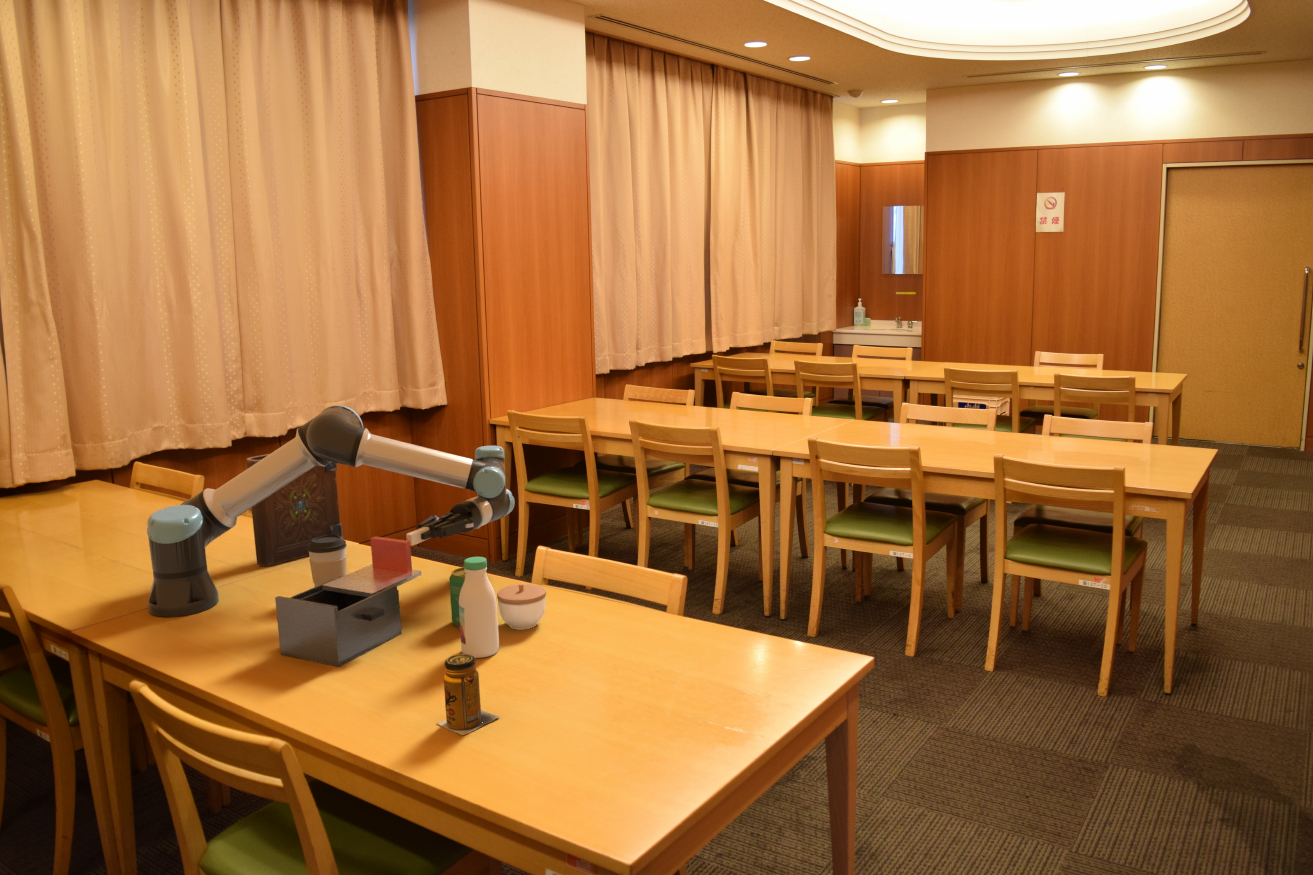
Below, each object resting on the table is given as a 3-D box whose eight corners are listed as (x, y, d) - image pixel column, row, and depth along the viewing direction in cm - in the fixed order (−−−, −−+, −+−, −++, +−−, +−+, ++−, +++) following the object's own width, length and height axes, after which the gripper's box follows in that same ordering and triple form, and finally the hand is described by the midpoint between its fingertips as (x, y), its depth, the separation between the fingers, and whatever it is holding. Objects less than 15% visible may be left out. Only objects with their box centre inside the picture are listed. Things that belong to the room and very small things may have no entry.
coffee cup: (338, 603, 232) (333, 543, 229) (304, 601, 234) (298, 541, 231) (357, 591, 240) (352, 532, 238) (324, 589, 242) (319, 531, 240)
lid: (373, 567, 225) (370, 534, 223) (421, 575, 219) (419, 541, 217) (322, 589, 211) (319, 554, 209) (372, 597, 205) (369, 561, 203)
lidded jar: (538, 635, 210) (536, 593, 208) (491, 632, 212) (489, 591, 210) (553, 617, 220) (551, 577, 218) (508, 614, 222) (506, 575, 220)
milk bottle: (505, 646, 204) (501, 555, 200) (487, 660, 197) (482, 566, 193) (473, 642, 206) (468, 552, 203) (454, 656, 199) (448, 563, 196)
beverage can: (495, 618, 220) (492, 568, 218) (474, 631, 213) (471, 578, 211) (466, 613, 223) (463, 564, 221) (444, 626, 216) (441, 574, 214)
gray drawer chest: (337, 621, 220) (333, 568, 218) (410, 635, 211) (406, 580, 209) (272, 652, 203) (266, 595, 201) (348, 668, 194) (343, 609, 192)
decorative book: (330, 543, 282) (321, 442, 276) (343, 548, 277) (335, 445, 272) (252, 563, 264) (241, 456, 259) (266, 568, 260) (255, 459, 254)
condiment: (436, 724, 170) (431, 660, 168) (474, 706, 177) (470, 644, 175) (462, 736, 166) (458, 670, 164) (500, 718, 172) (497, 654, 170)
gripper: (492, 531, 243) (432, 558, 222) (450, 526, 248) (388, 552, 227) (490, 502, 241) (430, 526, 220) (448, 498, 247) (385, 521, 226)
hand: (409, 539), depth 224 cm, fingers closed
